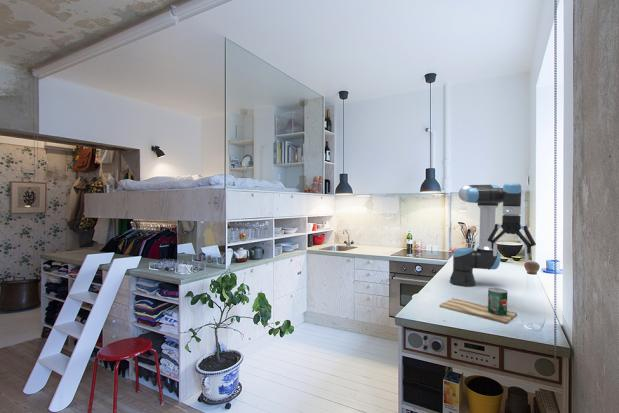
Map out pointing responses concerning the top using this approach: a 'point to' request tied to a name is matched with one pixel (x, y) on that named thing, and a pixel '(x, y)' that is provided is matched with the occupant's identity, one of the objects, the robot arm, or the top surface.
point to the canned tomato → (497, 301)
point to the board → (476, 310)
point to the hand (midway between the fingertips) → (510, 257)
